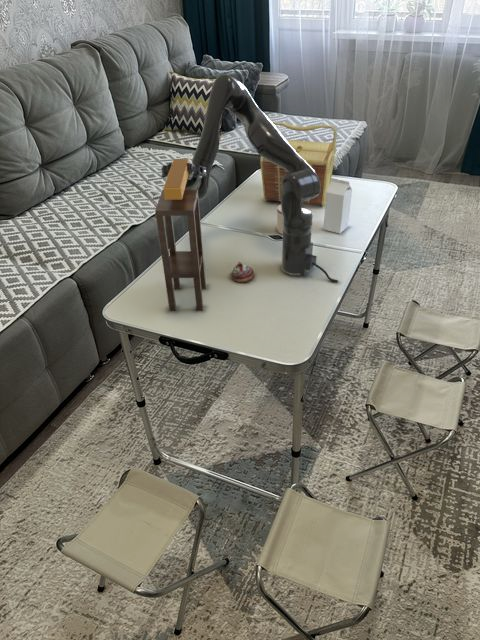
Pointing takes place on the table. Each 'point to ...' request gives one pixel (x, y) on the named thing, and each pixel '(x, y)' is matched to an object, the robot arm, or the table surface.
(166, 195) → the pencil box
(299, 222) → the robot arm
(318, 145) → the picnic basket
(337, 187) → the milk carton
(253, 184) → the table surface
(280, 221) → the teacup with lid
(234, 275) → the pastry
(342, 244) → the table surface
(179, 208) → the stand
